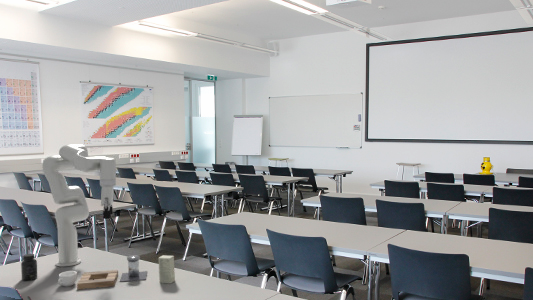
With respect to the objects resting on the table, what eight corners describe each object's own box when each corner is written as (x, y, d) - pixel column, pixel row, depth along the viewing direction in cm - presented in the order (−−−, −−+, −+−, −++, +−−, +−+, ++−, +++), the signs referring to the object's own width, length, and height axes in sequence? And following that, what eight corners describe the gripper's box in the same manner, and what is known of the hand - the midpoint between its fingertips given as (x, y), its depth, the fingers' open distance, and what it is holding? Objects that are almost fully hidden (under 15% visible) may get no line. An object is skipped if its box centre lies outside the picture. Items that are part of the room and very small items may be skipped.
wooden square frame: (84, 277, 210) (83, 272, 210) (118, 274, 214) (118, 269, 214) (77, 289, 195) (77, 283, 195) (114, 286, 198) (113, 280, 198)
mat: (122, 273, 215) (122, 273, 215) (147, 271, 218) (147, 271, 218) (119, 282, 204) (119, 281, 204) (145, 279, 206) (145, 279, 206)
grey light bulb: (128, 274, 213) (127, 255, 212) (140, 273, 214) (140, 255, 214) (126, 278, 207) (126, 259, 207) (139, 277, 208) (139, 258, 208)
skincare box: (175, 280, 205) (174, 255, 204) (170, 283, 201) (170, 258, 200) (163, 279, 207) (162, 254, 206) (158, 282, 202) (158, 257, 202)
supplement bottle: (19, 279, 209) (18, 255, 209) (34, 275, 214) (33, 252, 214) (24, 282, 205) (23, 257, 204) (39, 278, 210) (38, 254, 209)
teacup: (67, 281, 206) (67, 270, 206) (80, 282, 203) (80, 271, 203) (51, 288, 196) (51, 277, 196) (64, 290, 194) (64, 278, 194)
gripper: (102, 180, 220) (102, 212, 221) (97, 185, 204) (97, 220, 205) (117, 180, 222) (117, 212, 223) (113, 185, 205) (113, 220, 206)
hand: (107, 216), depth 214 cm, fingers open, 9 cm apart
